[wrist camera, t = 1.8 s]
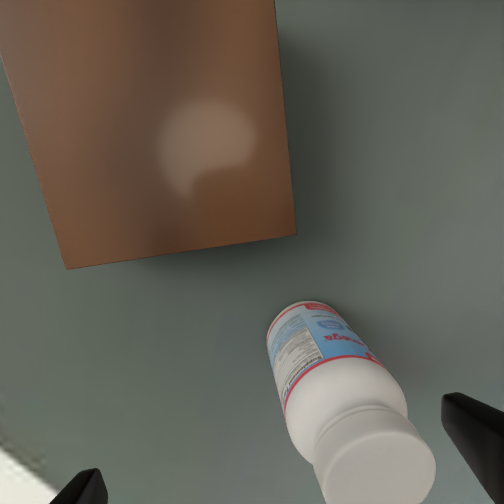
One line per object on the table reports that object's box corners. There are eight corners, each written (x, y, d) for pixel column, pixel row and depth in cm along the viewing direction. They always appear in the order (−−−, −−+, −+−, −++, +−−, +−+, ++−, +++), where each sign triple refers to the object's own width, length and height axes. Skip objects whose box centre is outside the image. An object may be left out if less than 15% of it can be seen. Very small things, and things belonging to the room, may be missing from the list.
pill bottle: (357, 329, 22) (485, 467, 11) (304, 382, 23) (376, 561, 12) (303, 281, 21) (389, 387, 10) (248, 340, 22) (272, 498, 11)
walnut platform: (260, 14, 17) (271, -37, 13) (282, 224, 20) (297, 234, 16) (38, 36, 16) (-21, -11, 12) (98, 252, 19) (66, 270, 15)
